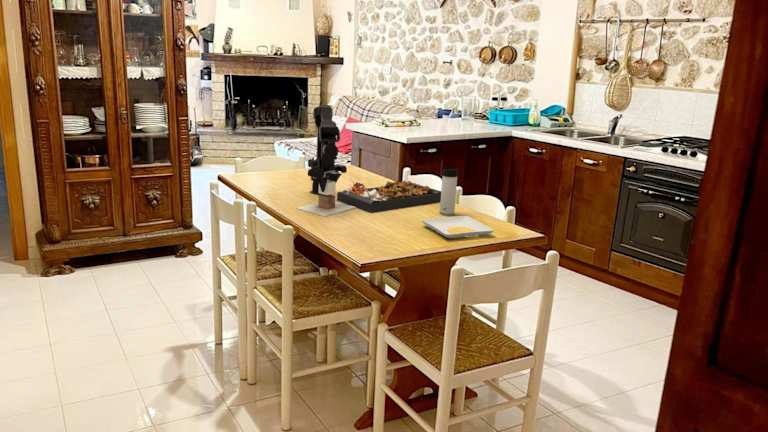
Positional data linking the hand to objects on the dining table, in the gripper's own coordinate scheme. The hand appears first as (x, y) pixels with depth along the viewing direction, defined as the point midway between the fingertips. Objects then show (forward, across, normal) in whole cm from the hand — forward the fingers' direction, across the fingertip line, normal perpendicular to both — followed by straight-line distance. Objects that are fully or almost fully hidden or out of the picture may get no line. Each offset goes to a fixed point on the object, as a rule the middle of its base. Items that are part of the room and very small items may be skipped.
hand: (327, 190), depth 263 cm
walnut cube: (+7, 0, 0) cm, 7 cm away
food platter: (+9, -33, +11) cm, 36 cm away
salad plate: (+8, -11, +57) cm, 59 cm away
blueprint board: (+8, 0, 0) cm, 8 cm away
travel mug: (+8, -31, +41) cm, 52 cm away
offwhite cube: (+1, 0, 0) cm, 1 cm away
